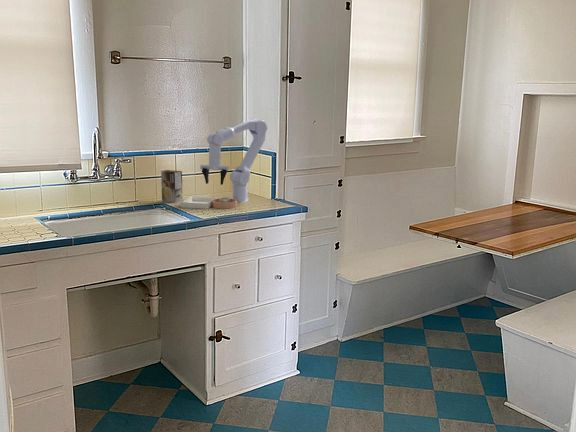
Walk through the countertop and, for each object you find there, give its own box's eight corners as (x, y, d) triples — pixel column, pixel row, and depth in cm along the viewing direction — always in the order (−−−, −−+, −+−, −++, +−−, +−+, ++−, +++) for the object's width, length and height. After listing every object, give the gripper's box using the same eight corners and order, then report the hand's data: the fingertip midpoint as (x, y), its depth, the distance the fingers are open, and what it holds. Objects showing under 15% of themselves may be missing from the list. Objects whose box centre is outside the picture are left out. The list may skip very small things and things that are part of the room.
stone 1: (220, 206, 304) (220, 198, 303) (228, 206, 303) (228, 199, 303) (218, 207, 300) (218, 200, 299) (226, 208, 299) (226, 201, 299)
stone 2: (222, 204, 309) (222, 197, 308) (230, 204, 308) (230, 197, 308) (221, 205, 305) (221, 198, 304) (229, 206, 304) (229, 199, 304)
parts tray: (192, 201, 317) (192, 196, 317) (217, 203, 315) (217, 197, 314) (180, 208, 300) (180, 202, 299) (207, 209, 298) (207, 203, 297)
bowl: (216, 204, 311) (216, 197, 310) (239, 205, 309) (239, 198, 308) (209, 209, 300) (209, 202, 299) (233, 210, 298) (233, 203, 297)
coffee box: (183, 201, 317) (182, 170, 313) (175, 203, 311) (174, 172, 308) (169, 200, 321) (168, 169, 317) (161, 201, 315) (160, 170, 312)
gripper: (198, 156, 304) (198, 184, 307) (226, 158, 302) (226, 185, 305) (202, 155, 311) (202, 182, 314) (230, 157, 309) (229, 184, 311)
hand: (214, 183), depth 310 cm, fingers open, 7 cm apart
